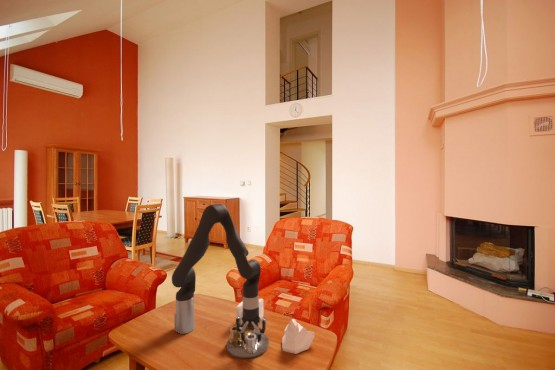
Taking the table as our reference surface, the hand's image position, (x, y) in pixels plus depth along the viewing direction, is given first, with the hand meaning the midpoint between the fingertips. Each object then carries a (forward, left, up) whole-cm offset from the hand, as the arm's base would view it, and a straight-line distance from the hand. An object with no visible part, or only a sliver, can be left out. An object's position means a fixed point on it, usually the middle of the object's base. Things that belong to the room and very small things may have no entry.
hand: (251, 340), depth 120 cm
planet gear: (0, 0, -4) cm, 4 cm away
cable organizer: (-7, +25, -6) cm, 27 cm away
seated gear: (-9, +5, -4) cm, 12 cm away
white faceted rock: (+20, +7, -6) cm, 22 cm away
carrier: (-3, +5, -6) cm, 9 cm away
